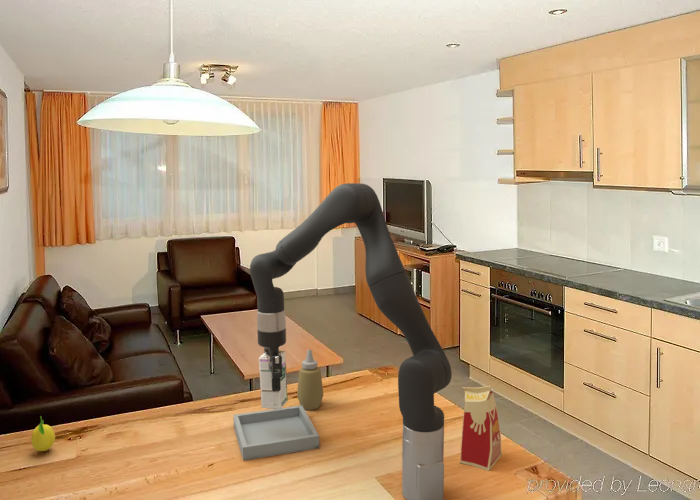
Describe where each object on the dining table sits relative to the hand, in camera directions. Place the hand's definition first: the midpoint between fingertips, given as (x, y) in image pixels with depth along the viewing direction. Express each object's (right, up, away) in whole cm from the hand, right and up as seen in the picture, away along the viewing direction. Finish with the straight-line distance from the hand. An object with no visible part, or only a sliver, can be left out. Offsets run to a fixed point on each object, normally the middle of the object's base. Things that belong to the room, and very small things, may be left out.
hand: (273, 385), depth 163 cm
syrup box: (0, -6, +1) cm, 6 cm away
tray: (0, -15, +3) cm, 15 cm away
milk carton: (+53, -17, -10) cm, 57 cm away
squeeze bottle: (+9, -12, +22) cm, 26 cm away
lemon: (-60, -17, -4) cm, 62 cm away
